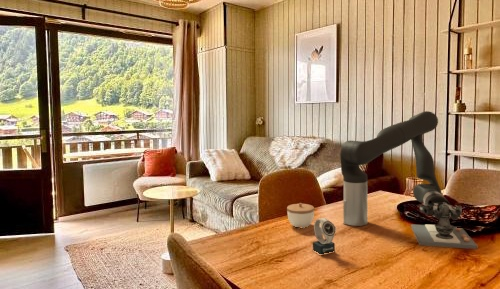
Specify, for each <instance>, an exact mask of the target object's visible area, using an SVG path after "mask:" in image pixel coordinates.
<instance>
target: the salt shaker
mask: <svg viewBox="0 0 500 289" xmlns="http://www.w3.org/2000/svg"><path fill="white" fill-rule="evenodd" d="M439 208H440V214H441V215H440V219H438V220H439V221H438V223H435V224H434V225H435V227H436V230H437V232H439V233H438V234H436V237H438V238H442V239H452V238H453V236H452V235H450V234H451V233H452V231H453V229H454V227H455V226H454V225H452V224H451V222H450V218H451V217H450V215H449V206H448V205H446V204H445V202H444V204H442V205H440V207H439Z"/></svg>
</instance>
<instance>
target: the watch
mask: <svg viewBox="0 0 500 289" xmlns="http://www.w3.org/2000/svg"><path fill="white" fill-rule="evenodd" d="M313 229H314V230H313V231H314V234H315V238H316V241H313V242H312V251H313V250H314V251H316V252H318V253H319V254H324V253H329V252H333V251H335V252H336V250H335V246H336V244H335V242H334V238H335V234H336V226H335V224H334V223H333V222H332V221H330V220H329V219H327V218H325V217H322V218H317V219H316V220H315V221H314V224H313Z"/></svg>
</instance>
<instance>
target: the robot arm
mask: <svg viewBox="0 0 500 289" xmlns="http://www.w3.org/2000/svg"><path fill="white" fill-rule="evenodd" d="M438 124H439V118H438V117H437V115H436V113H434V112H431V111H428V110H426V111H421V112H420V113H417V114H414V115H413V116H411V117H410V118H409V119H408V120H404V121H401V122H398V123H395V124H392V125H389V126H387V127H385V128H382V129H381V130H380V131H379V132H378V134H377V136H376V137H375V138H372V139H369V140H366V141H364V140H363V141H359V140H347V141H345V142H344V143H342V145H341V148H340V167H341V168H340V169H341V175H342V179H343V181H342V182H343V201H342V202H343V208H342V209H343V213H342V214H343V225H349V226H353V227H357V226H358V227H362V226H366V225H368V218H369V217H368V174H367V173H366V172H365V171H364V170H362V168H361V167H360V166H362V165H366V164H369V163H370V162H372V161H373V160H375V159H376V158H378V157H380V156H382V154H385V153H387V152H389V151H391V150H394V149H396V148H398V147H400V146H402V145H404V144H406V143H407V142H409V141H410V142H411V146H412V149H413V152H414V158H415V159H414V160H415V168H416V177H417V178H418V179H419V180H422V181H423V180H424V181H426V182H427V183H418V184H415V186H414V187H413V190H412V195H413V197H414V199H415V200H416V201H417V202H419V203H421V204H419V212H421V213H423V214H424V215H426V216H428V217H429V216H431V215H432V216H433V217H434V218H436V219H437V220H439V219H440V215H441V214H440V208H439V207H440V205H442V204H444V202H445V204H446V205H448V206H449V215H450V217H449V218H451V219H452V220H453V221H456V220H457V219H458V218H461V215H462V205H457V206H453V205H452V204H450V202H449V200H448V199H447V198H446V197H445V196H444V195H443V194H442V193H443V192H442V189H441V187H440V184H439V182H438V180H437V177H436V174H435V171H436V170H435V162H434V157H433V155H432V154H431V153H430V151H429V150H428V149H427V147H426V145H425V143H424V138H423V137H424V135H425V134H427V133H430V132H432V131H434V130H436V128H437V127H438Z"/></svg>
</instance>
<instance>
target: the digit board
mask: <svg viewBox="0 0 500 289" xmlns="http://www.w3.org/2000/svg"><path fill="white" fill-rule="evenodd" d="M410 225H411V226H410V227H411V230H412V232H413V234H414V236H415V239H416V241H417V243H418V245H419V246H425V247H426V246H429V247H442V248H443V247H444V248H454V249H455V248H458V249H472V250H478V244H477V243H476V242H475V241H474V240H473V238H472V237H471V236H469V234H468V233H467V231H466V230H465V229H464V228H457V227H458V226H454V229H453V231H452V233H451V234H450V235H452V236H453V238H452V239H442V238H438V237H436V234H438V233H439V232H437V230H436V227H435V224H428V223H427V224H413V223H412V224H410Z"/></svg>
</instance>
